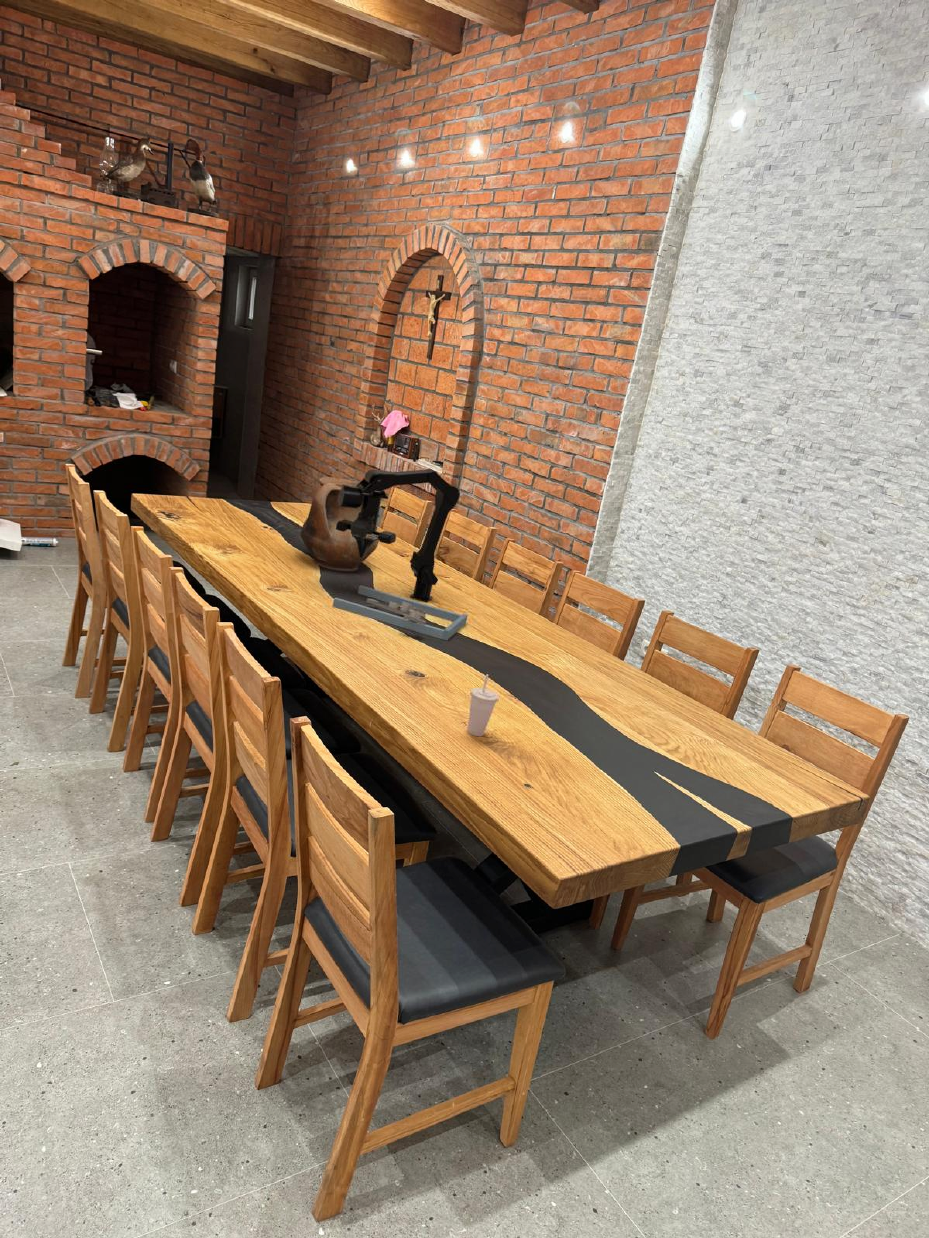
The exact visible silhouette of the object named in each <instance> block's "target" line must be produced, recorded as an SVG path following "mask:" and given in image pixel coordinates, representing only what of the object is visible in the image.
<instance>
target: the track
mask: <svg viewBox="0 0 929 1238" xmlns="http://www.w3.org/2000/svg"><path fill="white" fill-rule="evenodd" d="M357 594H358V595H362V596H366V597H367V598H368V597H369V598H371V599H374V600H377V601H378V600H379V601H382V602H386V603H388V604H389V603H390V601H391V602H394V603H397V604H399V606H400V607H401V606H402V603H403V602H406V603H409V604H411V605H412V606H413V607H416V608H419V609H422V610H425V611H427V612H426V614H425V615H430V616H433V617H436V618H440V619H444V620H446V619H447V620H446V621H449V620H450V622H452V623H451V624H449V625H447V627H446V628H444V629H442V628H439V627H436V626H432V625H429V624H425V625H422V624H419V623H417V622H414V621H411V620H408V619H405V618H403V617H404V616H403V617H402V616H399V615H395V614H392V613H390V612H385V611H382V610H379V609H375V608H373V607H368V606H365V605H363V604H359V603H356V602H351V601H348V600H345V599H343V598H342V599H341V598H339V597H335V598H333V602H332V607H334V608H337V609H339V610H340V609H341V610H343V611H347V612H349V613H350V612H351V613H353V614H357V615H361V616H364V617H367V618H370V619H374V620H377V621H380V622H382V623H383V622H384V623H386V624H390V625H393V626H396V627H400V628H403V629H407V630H409V631H413V632H416V633H420V634H423V635H427V636H430V637H434V638H436V639H440V640H443V641H446V642H447V641H448V640H449V639H450V638H452V637H453V635H455V634H456V633H457V632H459V631H460V630H461V629H462V628H463V627H464V626H465V625H466V624H467V621H468V616H469V615H468V614H466V613H462V614H459V613H456V612H453V611H450V610H447V609H443V608H439V607H436V606H433V605H429V604H426V603H423V602H419V601H416V600H412V599H409V598H406V597H403V596H402V597H401V596H398V595H396V594H392V593H388V592H386V591H382V590H378V589H375V588H371V587H367V586H365V585H362V584H361V585H359V586H358V591H357ZM399 606H398V607H399ZM462 626H463V627H462ZM461 627H462V628H461ZM460 628H461V629H460Z"/></svg>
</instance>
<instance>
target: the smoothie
mask: <svg viewBox="0 0 929 1238" xmlns="http://www.w3.org/2000/svg"><path fill="white" fill-rule="evenodd" d="M488 679H489V674H488V673H487V674H485V677H484V681H483V684H482V686H483V687H475V688H472V689H471V691H470V693H469V696H470V704H469V712H468V713H469V715H468V722H467V723H468V725H467V732H468V733H469V734H470V735H472V736H475V737H482V736H484V735H485V731H486V728H487V727H488V723H489V722H490V720H491V719H490V718H491V716H492V714H493V711H494V708H495V706H496V703H498V701H499V698H500V697H499V694H498V693H496V692H495V691H493V690H492V689H488V688H486V686H487V683H488Z"/></svg>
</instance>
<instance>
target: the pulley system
mask: <svg viewBox="0 0 929 1238" xmlns="http://www.w3.org/2000/svg"><path fill="white" fill-rule="evenodd" d="M365 601H366V602H367V603H369V604H370V607H371V608H375V607H376V606H377V607H379V608H383V609H385V610H387V611H389V612H393V613H396V614H399V615H402V616H403V618H405V619H408V620H411V621H414V622H417V623H419V624H422V625H425V624H426V623H427V621H426V618H427V616H426V615H427V614H426V612H427V611H425V610H422V609H419V608H416V607H413V606H412V605H411V604H409V603H406V602H403V603H402V606H400V609H399V604H397V603H394V602H391V601H390V603H388V605H386V604H384V603H383V602H382V603H381V602H380V601H378V600H377V599H374V598H370V597H369V598H368V597H367V599H366V600H365ZM366 602H365V603H366ZM426 625H427V624H426Z"/></svg>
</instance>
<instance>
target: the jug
mask: <svg viewBox="0 0 929 1238" xmlns="http://www.w3.org/2000/svg"><path fill="white" fill-rule="evenodd" d="M317 482H318V483H319V484H320V487H319V489H318V490H317V492H316V493H315V495H314V497H313V500H312V502H311V506H310V508H309V513H308V517H307V518H306V520H304V523H303V525H302V527H301V530H300V537H301V539H302V541H303V544H304V545H305V547H306V549H307V550H308V552H309V553H310V554H311V556H312V557H313V559H312V562H313V563H314V564H316V565H317V566H319V567H322V568H324V569H328V570H332V571H336V572H355V571H357V570H358V569H359V566H360V565H361V564H362V563H363V562H364V561H365V560H366V559H367V558H369V557H370V555H372V554H373V553H374V552H375V550H377V548H378V545H379V543H380V541H379V540H377V541H374V542H373V543H372V545H371V546H370V547H369V549H368V550H367V552H366V554H365V555H364V557H363V558H361V557H360V556H359V550H358V544H357V541H356V539H355V538H354V537H352V534H351V530H348V529H347V530H346V531H345V532H343V531H339V530H336V524H337V522H338V521H341V520H348V521H352V522H354V521H355V520H356V519H357V517H358V514H359V512H361V506H362V505H361V506H360V507H358V508H357V509H356V508H348V507H341V506H339V505H338V494H339V493H340V490H341V488H342V485H343V484H344V485H348V486H353V487H356V486H357V485H358V484H359V483H360V482H361V481H356V480H349V479H344V478H335V477H331V476H330V477H326V476H325V477H321V478H318V480H317ZM376 531H377V532H378V529H377V530H376ZM366 538H367V536H366Z"/></svg>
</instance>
